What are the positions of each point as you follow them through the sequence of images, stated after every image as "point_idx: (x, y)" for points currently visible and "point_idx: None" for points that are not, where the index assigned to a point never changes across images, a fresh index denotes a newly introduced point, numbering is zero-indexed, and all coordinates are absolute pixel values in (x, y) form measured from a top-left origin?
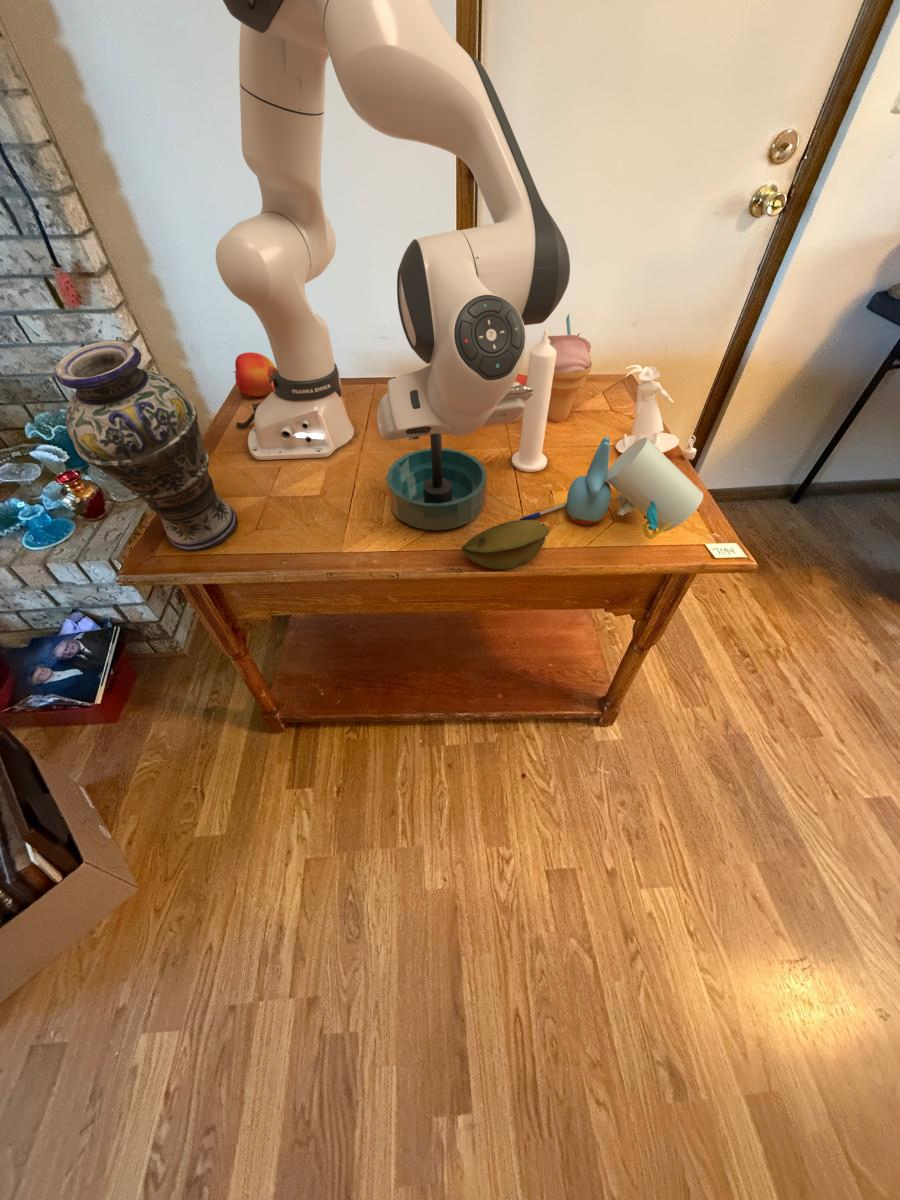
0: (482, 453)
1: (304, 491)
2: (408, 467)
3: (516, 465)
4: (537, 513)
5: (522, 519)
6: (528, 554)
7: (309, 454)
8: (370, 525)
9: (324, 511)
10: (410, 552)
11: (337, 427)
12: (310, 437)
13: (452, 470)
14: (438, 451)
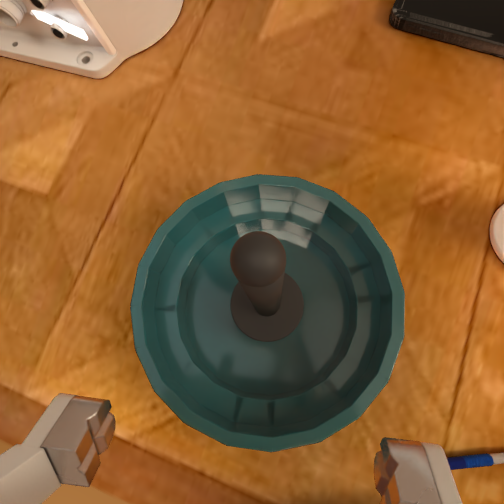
0: (429, 166)
1: (25, 172)
2: (225, 205)
3: (497, 247)
4: (487, 462)
5: None
6: None
7: (65, 66)
8: (104, 330)
9: (37, 249)
10: (150, 457)
11: (125, 10)
12: (60, 29)
13: (327, 244)
14: (265, 306)
